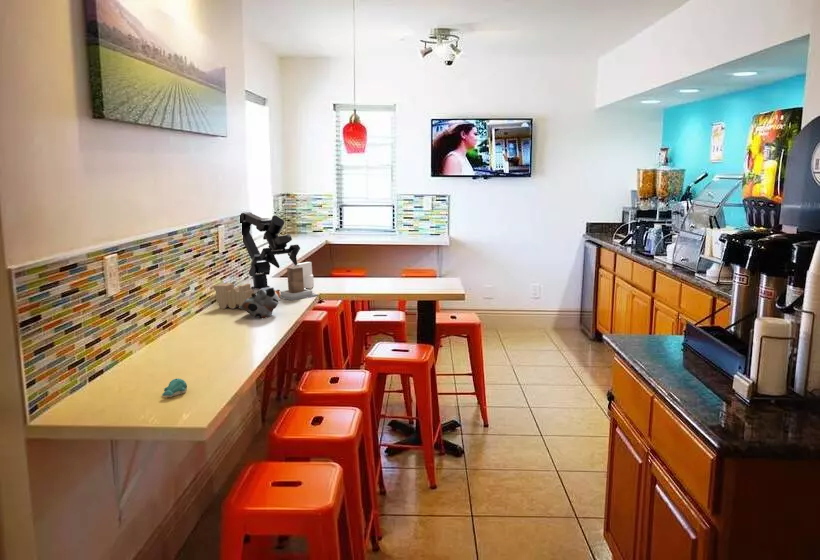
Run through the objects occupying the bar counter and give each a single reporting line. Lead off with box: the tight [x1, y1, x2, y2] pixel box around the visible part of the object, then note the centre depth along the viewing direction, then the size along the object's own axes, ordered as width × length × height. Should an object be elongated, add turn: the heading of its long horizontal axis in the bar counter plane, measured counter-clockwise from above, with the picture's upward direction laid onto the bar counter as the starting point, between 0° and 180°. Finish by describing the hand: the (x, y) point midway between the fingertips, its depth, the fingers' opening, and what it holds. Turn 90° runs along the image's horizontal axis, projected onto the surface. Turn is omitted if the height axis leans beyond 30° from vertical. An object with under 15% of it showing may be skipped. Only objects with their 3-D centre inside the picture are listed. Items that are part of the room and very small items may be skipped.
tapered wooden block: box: [286, 266, 304, 293], centre depth 289 cm, size 5×5×12 cm
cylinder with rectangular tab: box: [294, 261, 315, 289], centre depth 310 cm, size 9×9×12 cm
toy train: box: [212, 282, 254, 310], centre depth 268 cm, size 6×17×10 cm, turn 71°
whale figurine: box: [161, 378, 188, 398], centre depth 164 cm, size 6×7×4 cm
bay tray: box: [279, 289, 319, 301], centre depth 290 cm, size 14×14×2 cm
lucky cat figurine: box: [238, 286, 281, 319], centre depth 251 cm, size 15×12×14 cm
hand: (287, 266), depth 292 cm, fingers open, 9 cm apart
